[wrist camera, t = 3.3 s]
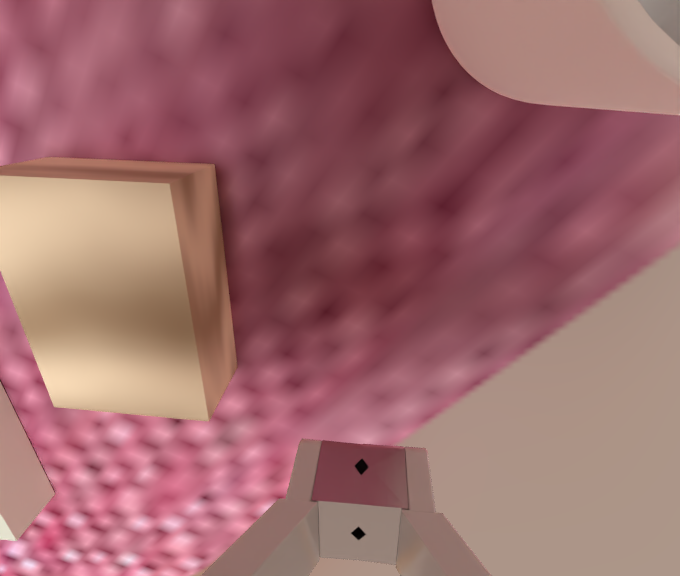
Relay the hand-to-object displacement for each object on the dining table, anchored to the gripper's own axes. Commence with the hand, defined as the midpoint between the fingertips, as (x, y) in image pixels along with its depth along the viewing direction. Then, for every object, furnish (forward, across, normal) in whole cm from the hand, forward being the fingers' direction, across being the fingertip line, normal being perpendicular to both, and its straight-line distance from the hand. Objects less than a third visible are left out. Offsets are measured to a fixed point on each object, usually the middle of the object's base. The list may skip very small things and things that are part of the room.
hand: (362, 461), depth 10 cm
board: (+9, +10, -1) cm, 14 cm away
